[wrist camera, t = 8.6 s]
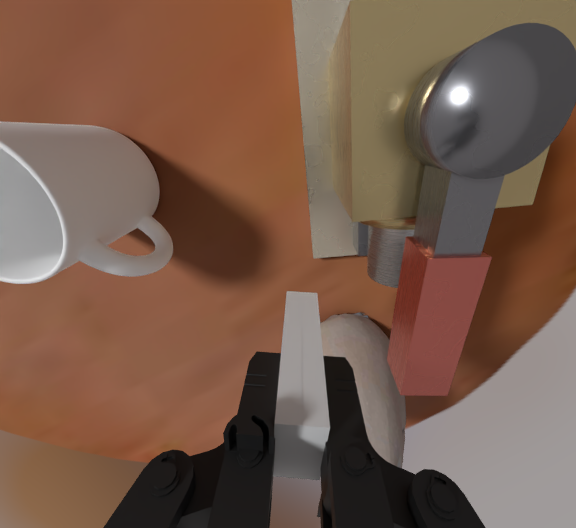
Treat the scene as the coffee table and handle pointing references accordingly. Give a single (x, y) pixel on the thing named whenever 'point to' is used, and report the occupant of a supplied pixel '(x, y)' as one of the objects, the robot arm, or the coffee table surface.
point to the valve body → (387, 112)
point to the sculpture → (370, 380)
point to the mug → (74, 201)
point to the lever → (469, 184)
